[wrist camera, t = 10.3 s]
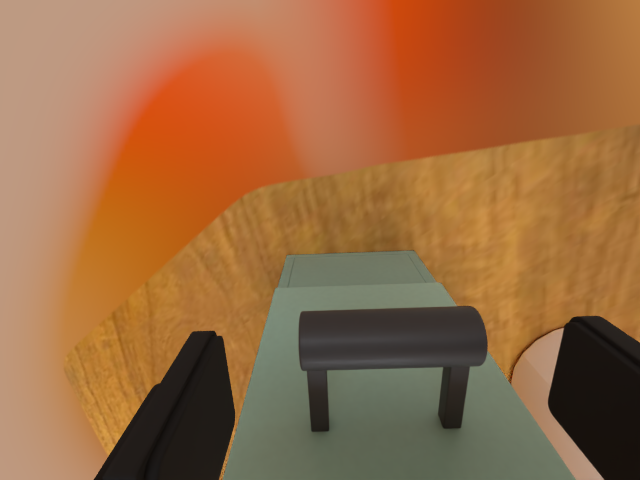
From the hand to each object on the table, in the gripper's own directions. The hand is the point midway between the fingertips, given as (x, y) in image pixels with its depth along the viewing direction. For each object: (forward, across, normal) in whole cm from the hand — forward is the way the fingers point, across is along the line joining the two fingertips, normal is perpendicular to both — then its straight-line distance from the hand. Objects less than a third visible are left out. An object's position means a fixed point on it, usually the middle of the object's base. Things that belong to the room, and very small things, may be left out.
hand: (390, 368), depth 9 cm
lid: (+7, 0, +5) cm, 9 cm away
